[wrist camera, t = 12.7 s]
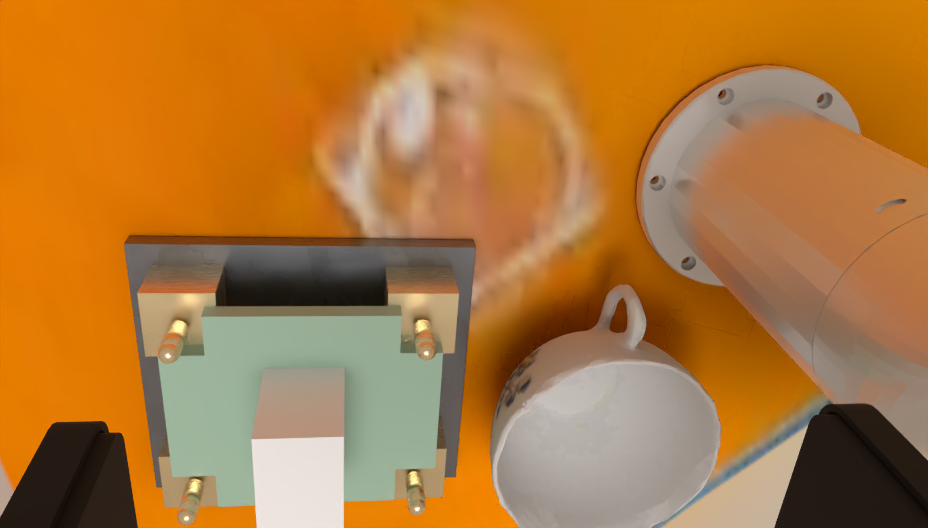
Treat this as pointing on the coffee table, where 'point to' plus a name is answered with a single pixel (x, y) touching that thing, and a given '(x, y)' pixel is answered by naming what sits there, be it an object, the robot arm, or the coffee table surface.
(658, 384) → the teacup
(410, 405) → the circuit board
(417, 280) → the chassis
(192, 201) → the coffee table surface
